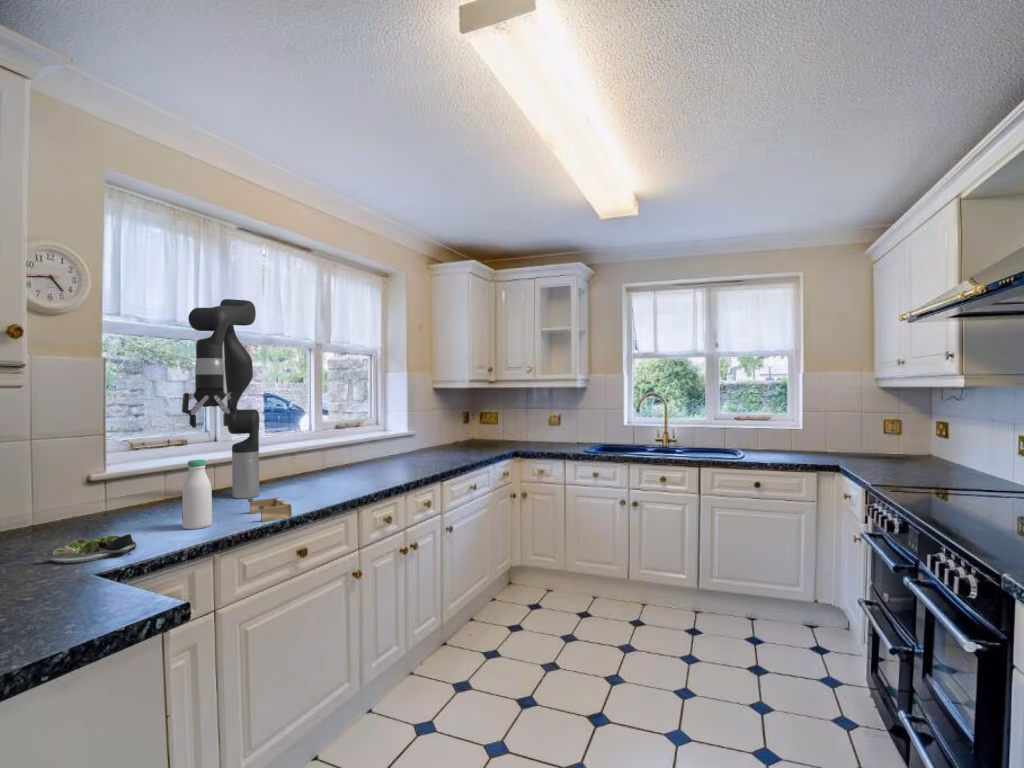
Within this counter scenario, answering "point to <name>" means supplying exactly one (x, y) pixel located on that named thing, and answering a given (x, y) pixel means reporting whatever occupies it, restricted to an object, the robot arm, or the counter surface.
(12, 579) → the counter surface
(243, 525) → the counter surface
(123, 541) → the salad plate
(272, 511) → the light brown wooden box
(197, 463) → the milk bottle
